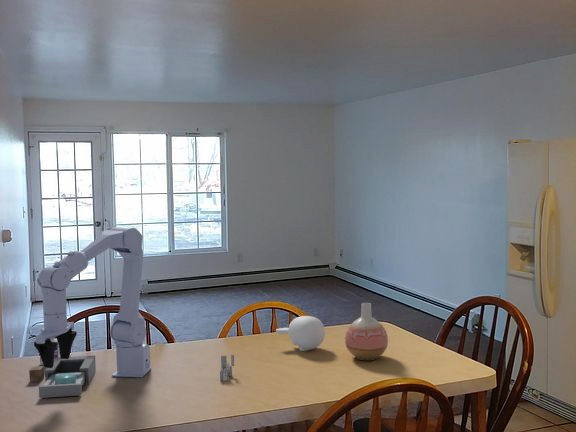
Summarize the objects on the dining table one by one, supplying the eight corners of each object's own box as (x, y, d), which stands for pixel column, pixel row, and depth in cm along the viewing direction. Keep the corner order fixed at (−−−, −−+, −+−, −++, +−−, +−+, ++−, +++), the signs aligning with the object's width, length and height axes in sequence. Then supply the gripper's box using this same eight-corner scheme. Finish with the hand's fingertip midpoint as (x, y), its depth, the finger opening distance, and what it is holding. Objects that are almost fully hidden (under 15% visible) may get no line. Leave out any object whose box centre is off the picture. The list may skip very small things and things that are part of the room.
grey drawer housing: (95, 370, 186) (95, 355, 186) (89, 384, 174) (88, 368, 174) (55, 373, 184) (54, 357, 184) (45, 387, 173) (45, 370, 172)
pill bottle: (52, 366, 191) (50, 335, 190) (36, 365, 192) (35, 335, 191) (62, 361, 196) (60, 331, 196) (46, 360, 197) (45, 330, 197)
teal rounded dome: (71, 386, 168) (71, 380, 168) (51, 386, 168) (51, 380, 168) (79, 379, 174) (78, 373, 173) (59, 379, 174) (59, 373, 174)
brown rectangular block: (44, 377, 181) (43, 366, 180) (41, 381, 178) (40, 369, 177) (32, 378, 180) (32, 366, 180) (29, 382, 177) (29, 370, 177)
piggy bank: (329, 355, 204) (296, 349, 215) (333, 319, 206) (301, 315, 217) (304, 352, 196) (271, 346, 206) (309, 315, 198) (277, 311, 209)
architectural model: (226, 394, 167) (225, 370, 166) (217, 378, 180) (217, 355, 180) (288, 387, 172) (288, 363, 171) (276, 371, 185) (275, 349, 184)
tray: (88, 380, 177) (88, 369, 177) (81, 395, 165) (80, 384, 165) (49, 382, 175) (49, 372, 175) (39, 397, 164) (38, 386, 163)
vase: (339, 361, 192) (339, 306, 191) (351, 349, 205) (351, 297, 203) (382, 366, 187) (382, 309, 185) (392, 353, 200) (392, 300, 198)
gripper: (57, 305, 169) (58, 354, 170) (24, 318, 155) (26, 370, 156) (80, 306, 168) (81, 355, 169) (49, 319, 153) (51, 372, 154)
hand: (56, 363), depth 162 cm, fingers open, 7 cm apart
